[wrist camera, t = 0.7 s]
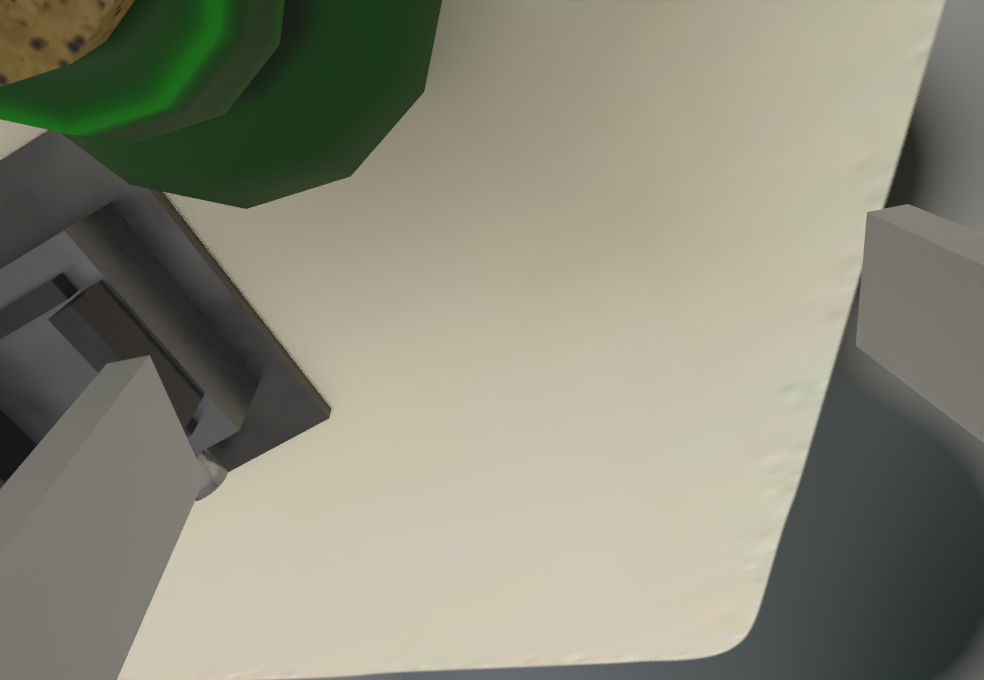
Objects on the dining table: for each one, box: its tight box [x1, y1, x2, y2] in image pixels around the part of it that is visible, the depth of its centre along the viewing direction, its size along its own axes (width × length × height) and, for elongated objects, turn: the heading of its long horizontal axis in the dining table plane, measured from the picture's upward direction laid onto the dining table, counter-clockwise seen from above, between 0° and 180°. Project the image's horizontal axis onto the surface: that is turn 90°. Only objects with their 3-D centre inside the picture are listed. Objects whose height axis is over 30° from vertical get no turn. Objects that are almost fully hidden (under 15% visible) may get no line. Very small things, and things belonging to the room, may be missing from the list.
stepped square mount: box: [0, 130, 331, 501], centre depth 34 cm, size 20×14×9 cm
